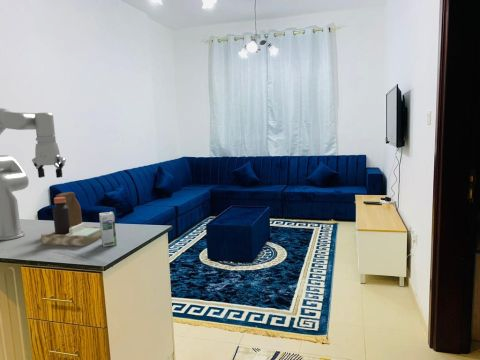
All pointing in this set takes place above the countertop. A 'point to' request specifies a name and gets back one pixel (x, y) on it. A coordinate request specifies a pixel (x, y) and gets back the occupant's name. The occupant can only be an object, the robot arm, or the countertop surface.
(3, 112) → the robot arm
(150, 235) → the countertop surface
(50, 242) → the puzzle board
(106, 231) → the syrup box
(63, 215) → the vinegar
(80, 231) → the lid
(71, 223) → the block
